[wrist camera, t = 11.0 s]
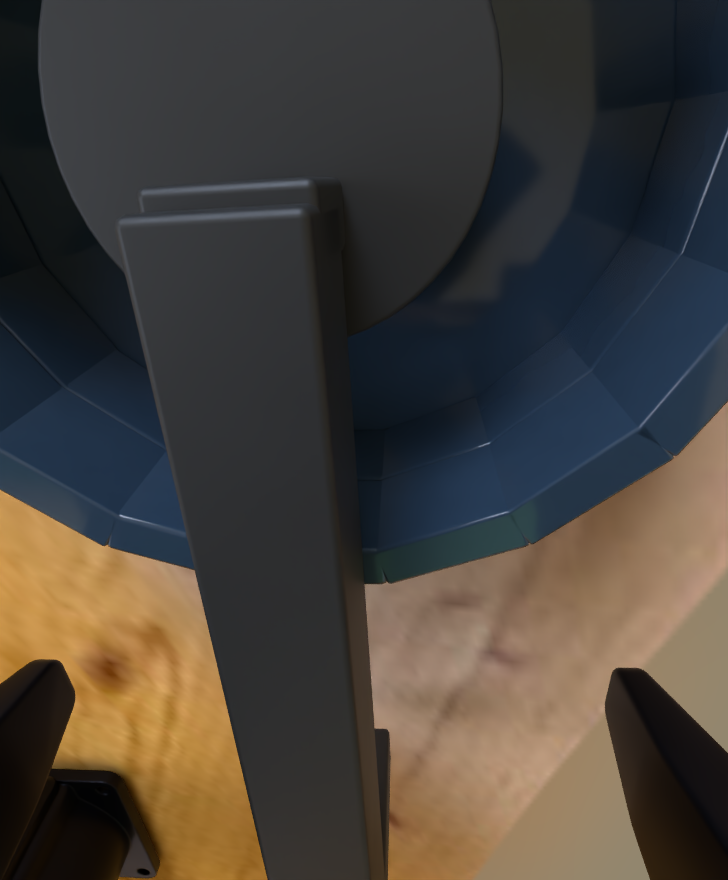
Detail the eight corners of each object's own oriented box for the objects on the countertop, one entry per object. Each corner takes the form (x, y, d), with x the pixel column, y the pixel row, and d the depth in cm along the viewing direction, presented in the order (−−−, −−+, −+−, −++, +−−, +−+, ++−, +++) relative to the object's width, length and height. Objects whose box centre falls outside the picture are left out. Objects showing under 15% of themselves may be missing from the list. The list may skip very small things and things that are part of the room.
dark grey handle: (455, 757, 15) (480, 1041, 10) (271, 753, 15) (209, 1023, 11) (478, -91, 7) (626, -628, 2) (113, -53, 8) (-380, -449, 3)
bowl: (634, 438, 12) (751, 587, 8) (78, 449, 13) (-68, 585, 9) (838, -579, 6) (1739, -2080, 2) (-221, -402, 7) (-1057, -1134, 3)
